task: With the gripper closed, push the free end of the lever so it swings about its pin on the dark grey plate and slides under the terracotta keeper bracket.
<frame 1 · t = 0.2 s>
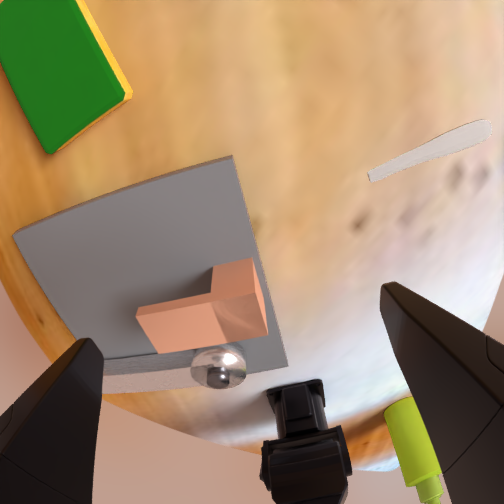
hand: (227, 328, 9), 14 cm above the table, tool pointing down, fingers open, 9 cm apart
butter knife: (363, 180, 22), on the table
soap dispenser: (400, 405, 40), on the table
dish sponge: (59, 50, 16), on the table
base plate: (154, 303, 26), on the table
lever: (152, 377, 28), point 3 cm above the table, hinge at 90.0°
keeper: (239, 275, 25), resting on base plate
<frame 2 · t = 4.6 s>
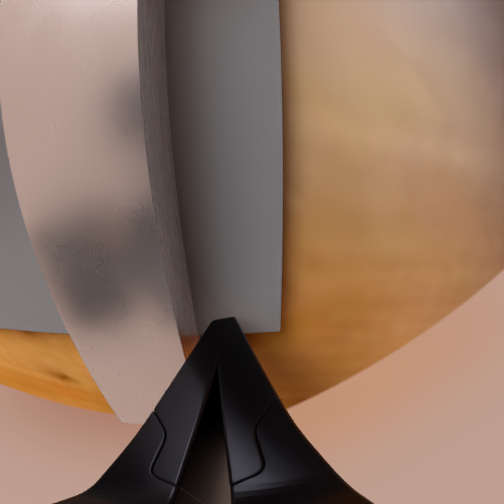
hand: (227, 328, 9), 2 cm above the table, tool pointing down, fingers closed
lever: (79, 126, 5), point 3 cm above the table, hinge at 89.2°, touching gripper
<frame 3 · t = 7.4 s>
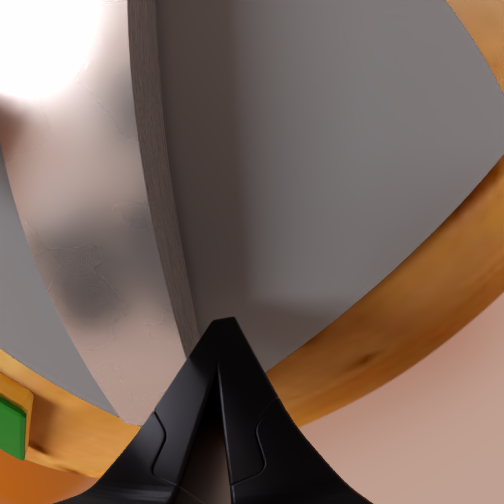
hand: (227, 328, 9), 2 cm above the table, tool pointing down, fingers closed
base plate: (73, 145, 8), on the table
lever: (73, 128, 5), point 3 cm above the table, hinge at 44.3°, touching gripper
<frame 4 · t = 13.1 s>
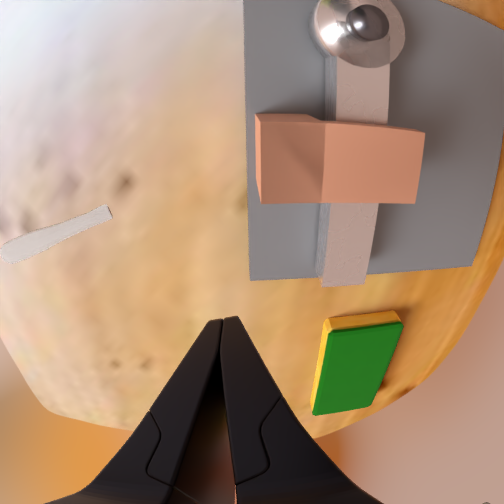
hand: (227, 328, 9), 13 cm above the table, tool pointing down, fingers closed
butter knife: (114, 203, 21), on the table
dish sponge: (348, 359, 30), on the table
base plate: (395, 134, 18), on the table
lever: (357, 142, 16), point 3 cm above the table, hinge at 0.2°
keeper: (278, 143, 19), resting on base plate
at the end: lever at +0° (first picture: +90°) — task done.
